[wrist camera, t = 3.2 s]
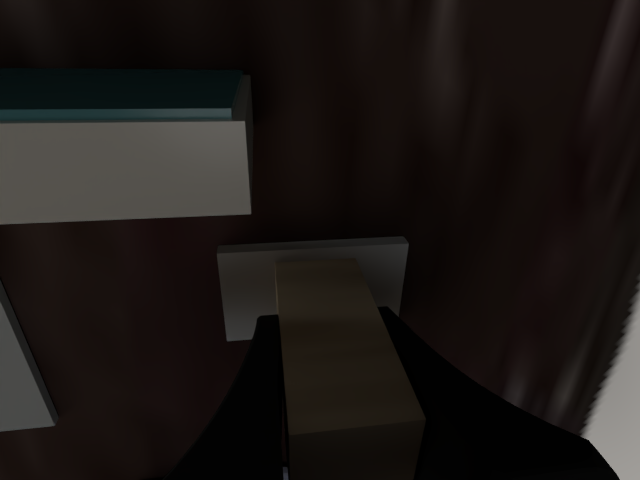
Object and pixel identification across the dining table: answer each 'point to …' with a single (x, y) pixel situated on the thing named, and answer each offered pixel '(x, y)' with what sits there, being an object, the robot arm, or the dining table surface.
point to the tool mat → (20, 378)
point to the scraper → (331, 351)
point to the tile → (124, 144)
